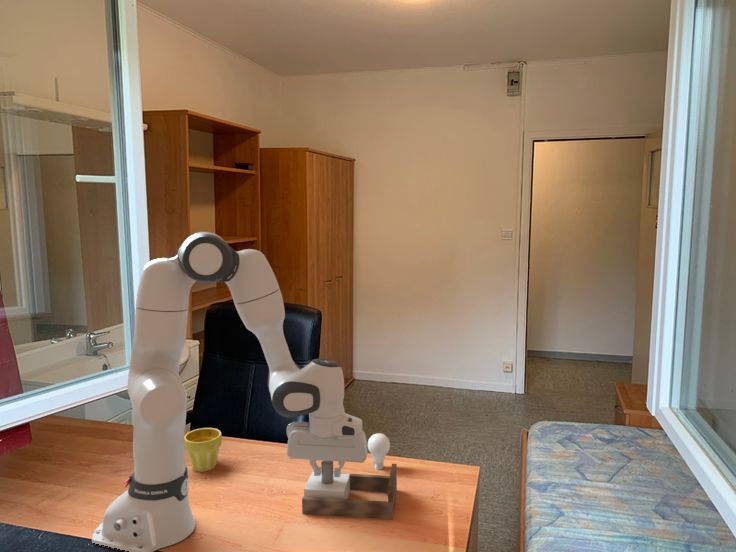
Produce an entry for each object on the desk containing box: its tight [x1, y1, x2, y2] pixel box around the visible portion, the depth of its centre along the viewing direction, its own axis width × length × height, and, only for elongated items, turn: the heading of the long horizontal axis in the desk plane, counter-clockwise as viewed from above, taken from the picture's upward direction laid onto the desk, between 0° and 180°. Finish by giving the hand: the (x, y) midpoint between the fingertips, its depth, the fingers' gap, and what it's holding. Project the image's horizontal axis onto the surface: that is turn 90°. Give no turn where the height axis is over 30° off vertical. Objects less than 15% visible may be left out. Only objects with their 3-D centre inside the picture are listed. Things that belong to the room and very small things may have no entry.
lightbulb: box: [367, 432, 391, 471], centre depth 156 cm, size 6×6×11 cm
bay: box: [301, 463, 398, 521], centre depth 138 cm, size 22×14×9 cm, turn 83°
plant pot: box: [184, 427, 223, 472], centre depth 160 cm, size 10×10×10 cm
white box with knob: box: [303, 460, 351, 499], centre depth 139 cm, size 10×9×10 cm
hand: (327, 475), depth 139 cm, fingers open, 4 cm apart
